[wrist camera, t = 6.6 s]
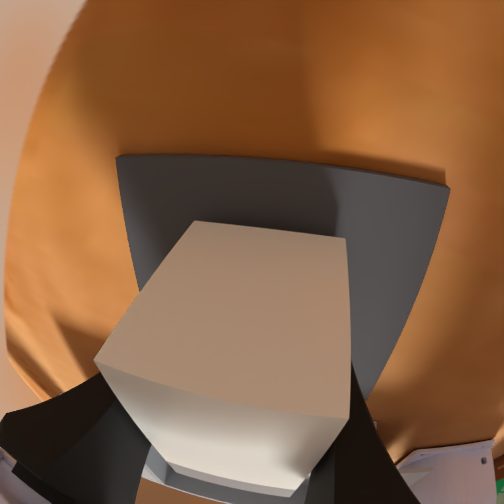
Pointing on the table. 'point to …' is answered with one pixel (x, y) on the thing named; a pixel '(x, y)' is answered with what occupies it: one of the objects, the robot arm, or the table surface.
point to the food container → (499, 478)
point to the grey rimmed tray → (236, 499)
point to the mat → (297, 226)
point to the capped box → (238, 355)
